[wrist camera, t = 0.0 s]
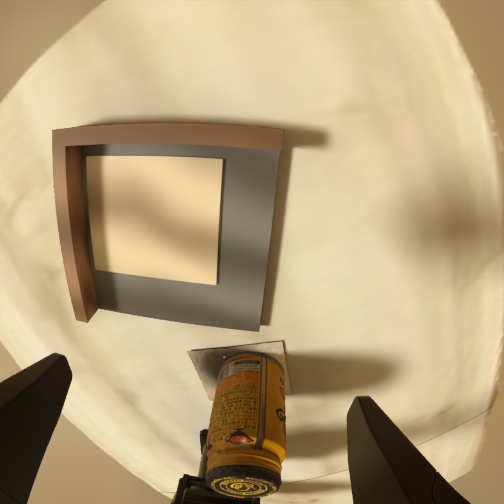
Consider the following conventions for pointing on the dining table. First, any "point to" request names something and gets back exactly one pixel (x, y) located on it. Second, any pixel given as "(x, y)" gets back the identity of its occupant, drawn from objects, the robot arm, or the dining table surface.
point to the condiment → (245, 417)
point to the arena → (167, 219)
